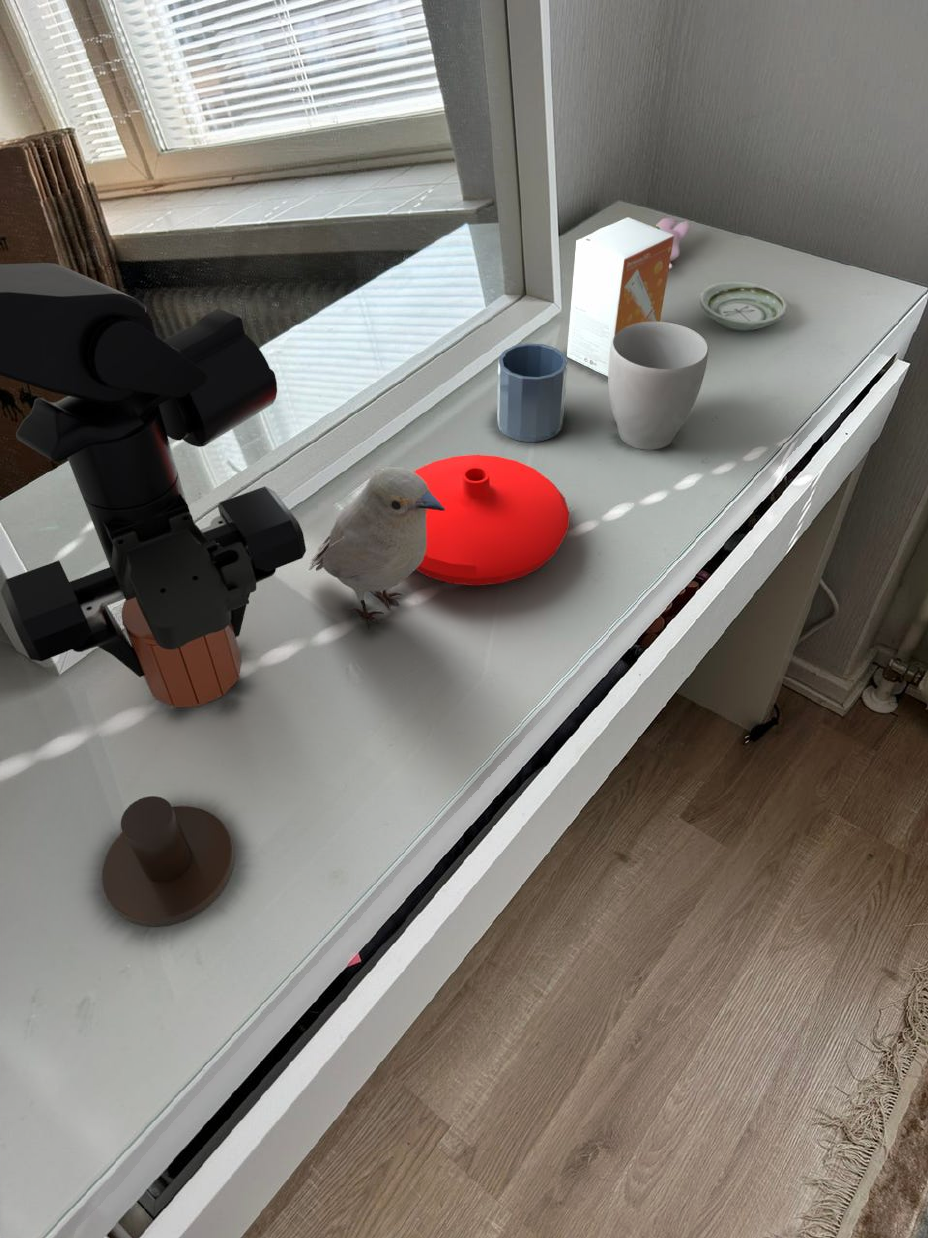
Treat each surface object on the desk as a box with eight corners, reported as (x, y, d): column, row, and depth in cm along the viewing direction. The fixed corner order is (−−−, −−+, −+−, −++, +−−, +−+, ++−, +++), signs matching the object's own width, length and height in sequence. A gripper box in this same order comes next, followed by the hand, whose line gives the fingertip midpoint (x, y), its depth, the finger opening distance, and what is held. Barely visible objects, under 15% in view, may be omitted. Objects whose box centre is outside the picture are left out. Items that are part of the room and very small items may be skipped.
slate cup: (521, 450, 88) (524, 386, 83) (485, 417, 92) (485, 354, 87) (575, 429, 91) (581, 366, 86) (537, 398, 95) (540, 336, 90)
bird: (430, 664, 70) (422, 510, 59) (296, 595, 75) (266, 442, 64) (466, 625, 72) (465, 471, 62) (335, 561, 78) (312, 409, 67)
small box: (609, 379, 97) (624, 259, 88) (565, 357, 100) (574, 238, 91) (657, 351, 101) (676, 233, 91) (612, 330, 104) (626, 214, 95)
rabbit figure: (655, 304, 111) (702, 238, 118) (659, 260, 106) (708, 193, 113) (608, 292, 113) (657, 228, 120) (609, 248, 108) (661, 184, 115)
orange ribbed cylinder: (165, 721, 65) (139, 655, 60) (135, 660, 69) (108, 594, 64) (255, 681, 67) (237, 615, 62) (220, 625, 71) (201, 558, 66)
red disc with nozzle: (474, 462, 87) (474, 398, 82) (604, 539, 79) (613, 473, 74) (347, 541, 79) (338, 475, 74) (476, 634, 72) (476, 568, 66)
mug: (667, 471, 86) (683, 380, 79) (584, 441, 89) (593, 351, 82) (719, 411, 93) (739, 323, 86) (640, 385, 96) (653, 298, 89)
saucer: (739, 350, 101) (743, 330, 99) (679, 314, 106) (682, 295, 105) (800, 325, 104) (806, 305, 103) (739, 292, 110) (743, 273, 108)
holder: (128, 951, 54) (98, 905, 50) (89, 849, 59) (59, 799, 55) (254, 885, 57) (236, 836, 53) (207, 792, 62) (188, 741, 58)
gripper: (0, 620, 47) (92, 790, 58) (327, 498, 54) (353, 671, 65) (-43, 505, 54) (47, 678, 65) (253, 409, 61) (288, 580, 72)
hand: (188, 652), depth 67 cm, fingers closed on orange ribbed cylinder, 7 cm apart
